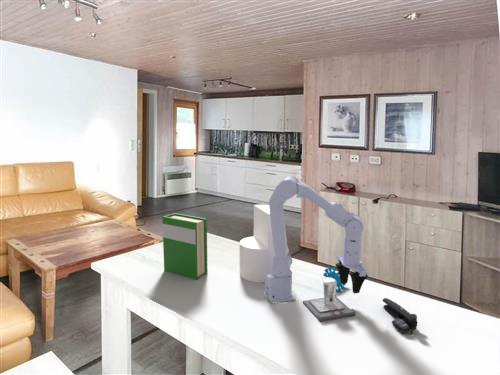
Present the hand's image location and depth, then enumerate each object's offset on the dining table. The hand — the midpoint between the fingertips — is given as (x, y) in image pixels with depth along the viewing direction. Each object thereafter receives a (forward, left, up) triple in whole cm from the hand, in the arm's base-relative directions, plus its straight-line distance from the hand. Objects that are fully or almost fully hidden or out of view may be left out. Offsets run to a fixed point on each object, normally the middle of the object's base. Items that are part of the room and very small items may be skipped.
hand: (349, 287), depth 125 cm
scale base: (-9, -1, -6) cm, 11 cm away
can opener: (+10, -13, -7) cm, 18 cm away
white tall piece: (-22, +34, -6) cm, 41 cm away
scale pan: (-9, 0, -5) cm, 10 cm away
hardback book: (-52, +44, -6) cm, 68 cm away
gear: (+2, +13, -6) cm, 15 cm away
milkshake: (-8, 0, -5) cm, 10 cm away
